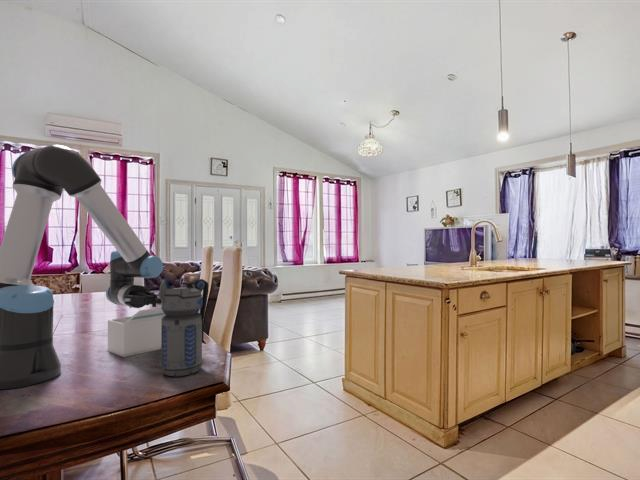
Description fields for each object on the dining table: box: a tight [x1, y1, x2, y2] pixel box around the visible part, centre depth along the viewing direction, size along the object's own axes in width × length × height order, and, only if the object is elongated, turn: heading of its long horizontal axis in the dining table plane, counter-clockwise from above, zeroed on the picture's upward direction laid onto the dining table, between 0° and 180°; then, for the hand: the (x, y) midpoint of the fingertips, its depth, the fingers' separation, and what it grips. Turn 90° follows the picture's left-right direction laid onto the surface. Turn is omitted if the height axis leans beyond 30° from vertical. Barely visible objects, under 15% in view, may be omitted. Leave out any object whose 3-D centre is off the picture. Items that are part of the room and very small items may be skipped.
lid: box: [125, 307, 165, 324], centre depth 112 cm, size 11×17×1 cm
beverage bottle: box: [158, 278, 209, 377], centre depth 97 cm, size 10×13×25 cm
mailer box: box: [107, 316, 161, 358], centre depth 120 cm, size 12×16×10 cm
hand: (169, 301), depth 108 cm, fingers closed
